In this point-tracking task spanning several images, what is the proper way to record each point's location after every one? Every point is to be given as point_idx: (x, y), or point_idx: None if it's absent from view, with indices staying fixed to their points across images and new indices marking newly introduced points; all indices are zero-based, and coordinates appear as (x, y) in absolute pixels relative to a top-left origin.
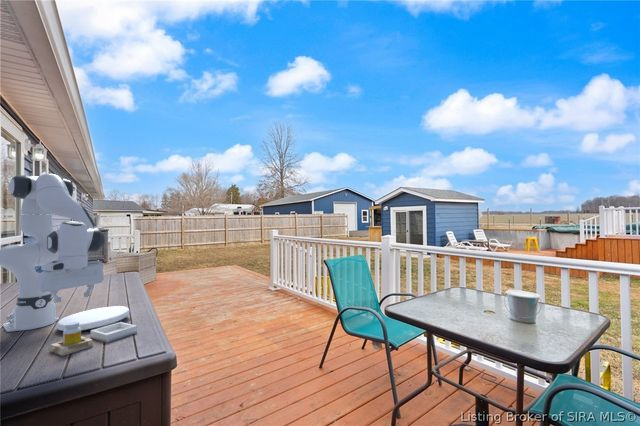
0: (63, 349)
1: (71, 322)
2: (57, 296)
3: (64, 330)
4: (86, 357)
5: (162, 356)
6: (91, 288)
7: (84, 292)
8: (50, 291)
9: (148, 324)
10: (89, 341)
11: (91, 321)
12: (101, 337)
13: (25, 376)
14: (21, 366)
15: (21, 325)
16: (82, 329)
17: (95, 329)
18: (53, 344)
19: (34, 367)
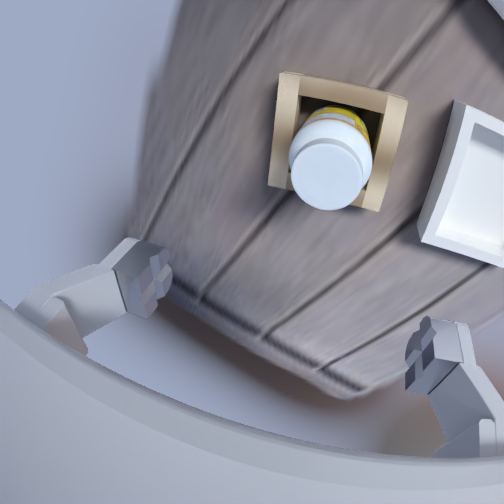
0: (269, 184)
1: (338, 153)
2: (110, 321)
3: (298, 142)
4: (292, 261)
5: (338, 393)
6: (451, 434)
7: (423, 368)
8: (22, 308)
9: None
10: (366, 206)
11: None
12: (432, 194)
13: (161, 212)
14: (175, 127)
15: None
16: (490, 3)
17: (483, 118)
18: (284, 86)
19: (190, 176)
